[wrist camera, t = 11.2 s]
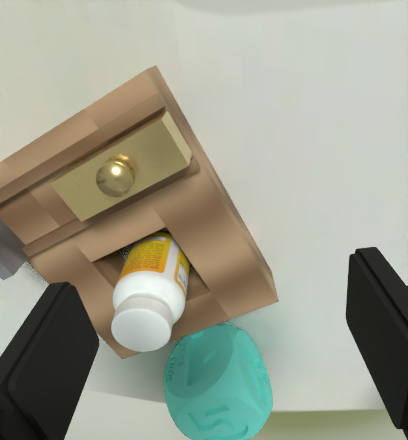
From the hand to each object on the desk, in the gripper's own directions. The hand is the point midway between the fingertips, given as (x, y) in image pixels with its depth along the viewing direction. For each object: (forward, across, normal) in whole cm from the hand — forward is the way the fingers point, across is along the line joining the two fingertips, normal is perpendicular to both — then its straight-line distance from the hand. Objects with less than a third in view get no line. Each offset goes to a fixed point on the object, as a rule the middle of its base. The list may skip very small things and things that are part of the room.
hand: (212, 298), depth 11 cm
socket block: (+16, +7, +5) cm, 19 cm away
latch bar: (+12, +5, -2) cm, 13 cm away
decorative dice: (+17, +3, +22) cm, 28 cm away
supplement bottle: (+16, +6, +8) cm, 19 cm away
